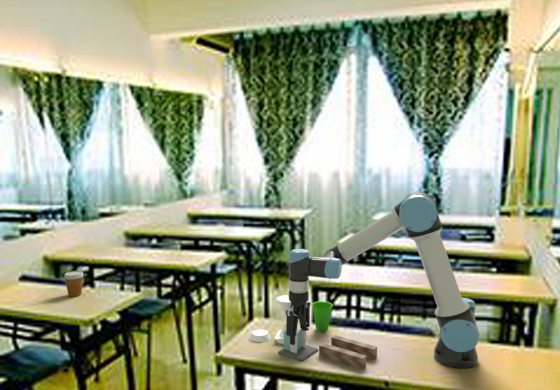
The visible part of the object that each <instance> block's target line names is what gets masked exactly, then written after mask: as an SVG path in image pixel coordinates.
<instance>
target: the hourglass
mask: <svg viewBox="0 0 560 390" xmlns="http://www.w3.org/2000/svg"><path fill="white" fill-rule="evenodd" d="M276 301H277V303H278V305H279V306H280V309H281V310H282V313H283V315H284V316H285V318H286V319H287V316H286V310H290V306H291V302H290V301H289V294H288V295H286V294H285V295H284V294H283V295H279V296H277V297H276ZM285 330H286V322H285V323H284V325H283V327H282V328H281V329H278V331H277V333H276V334H275V336H274V340H276V342H277V343H278V344H281V345H284V331H285ZM249 340H250V341H252V342H255V343H265V342H268V341H270V340H271V335H270V333H269V331H268V330H265V329H262V328H260V329H255V330H253V331H252V332H251V334H250V336H249Z"/></svg>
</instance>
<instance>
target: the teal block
mask: <svg viewBox="0 0 560 390" xmlns="http://www.w3.org/2000/svg"><path fill="white" fill-rule="evenodd" d="M296 336H297V350H299V349H300V348H302V330H301V329H300V328H297V332H296ZM283 348H284V349H286V350H289V351H290V336H287V335H286V330H285V331H284V344H283Z"/></svg>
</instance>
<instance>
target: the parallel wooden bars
mask: <svg viewBox="0 0 560 390" xmlns="http://www.w3.org/2000/svg"><path fill="white" fill-rule="evenodd" d="M330 339H331V340H330V341H331V343H330V344H328V343H324V342H322V343H321V344H319V345H318V356H319V357H322V358H325V359H327V360H328V359H329V360H332V361H334V362H337V363H341V364H344V365H347V366H349V367H354V368H356V369H360V370H364V369H365V368H366V367H367V359H370V360H372V361H374V360H376V358H377V357H378V346H376V345H372V344H369V343H365V342H362V341H358V340H354V339H351V338H348V337H347V338H346V337H343V336H340V335H337V334H334V335H333V336H331V337H330Z"/></svg>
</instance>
